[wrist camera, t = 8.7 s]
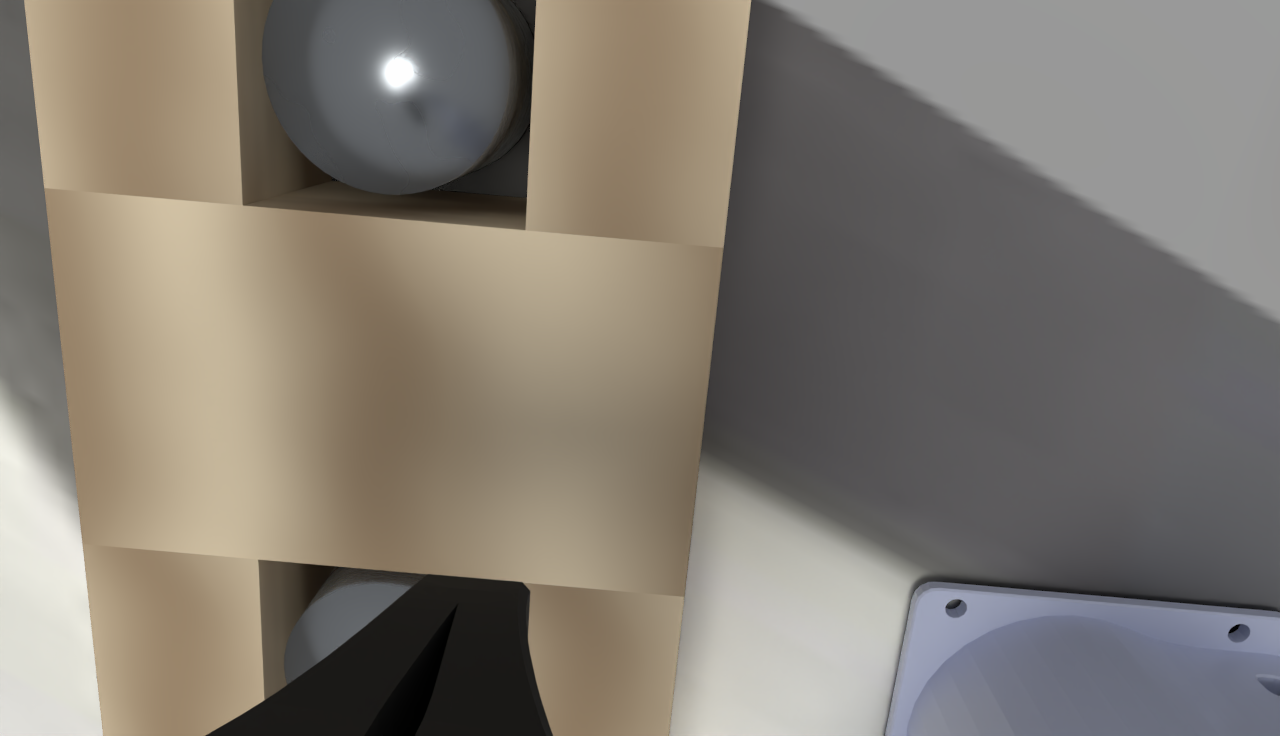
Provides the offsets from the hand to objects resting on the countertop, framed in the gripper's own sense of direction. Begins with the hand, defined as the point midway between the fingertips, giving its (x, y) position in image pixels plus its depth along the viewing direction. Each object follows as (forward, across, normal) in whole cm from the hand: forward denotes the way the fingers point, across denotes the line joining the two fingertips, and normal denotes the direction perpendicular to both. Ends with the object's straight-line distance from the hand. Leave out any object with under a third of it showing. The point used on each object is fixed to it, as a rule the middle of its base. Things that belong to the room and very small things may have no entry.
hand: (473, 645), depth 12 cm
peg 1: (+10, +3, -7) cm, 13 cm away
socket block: (+10, +3, -1) cm, 11 cm away
